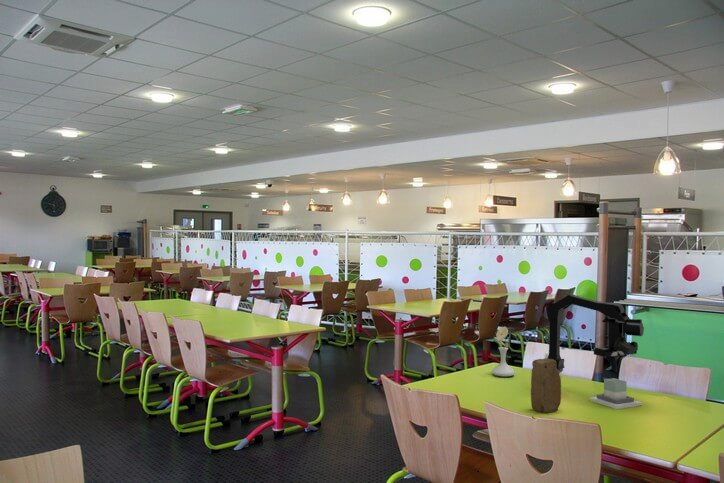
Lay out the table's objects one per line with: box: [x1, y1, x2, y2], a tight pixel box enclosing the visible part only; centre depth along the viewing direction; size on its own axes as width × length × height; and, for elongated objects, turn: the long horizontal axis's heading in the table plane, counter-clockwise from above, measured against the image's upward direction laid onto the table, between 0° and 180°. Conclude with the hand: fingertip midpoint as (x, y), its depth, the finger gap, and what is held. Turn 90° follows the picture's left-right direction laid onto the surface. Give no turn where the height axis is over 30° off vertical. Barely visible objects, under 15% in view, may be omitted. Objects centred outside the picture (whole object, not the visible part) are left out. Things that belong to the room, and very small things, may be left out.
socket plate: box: [588, 393, 643, 410], centre depth 230 cm, size 14×14×3 cm
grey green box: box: [603, 378, 627, 400], centre depth 230 cm, size 6×6×8 cm
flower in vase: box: [491, 326, 516, 377], centre depth 277 cm, size 13×11×25 cm
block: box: [530, 357, 562, 414], centre depth 219 cm, size 11×8×20 cm
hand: (615, 371), depth 230 cm, fingers closed
